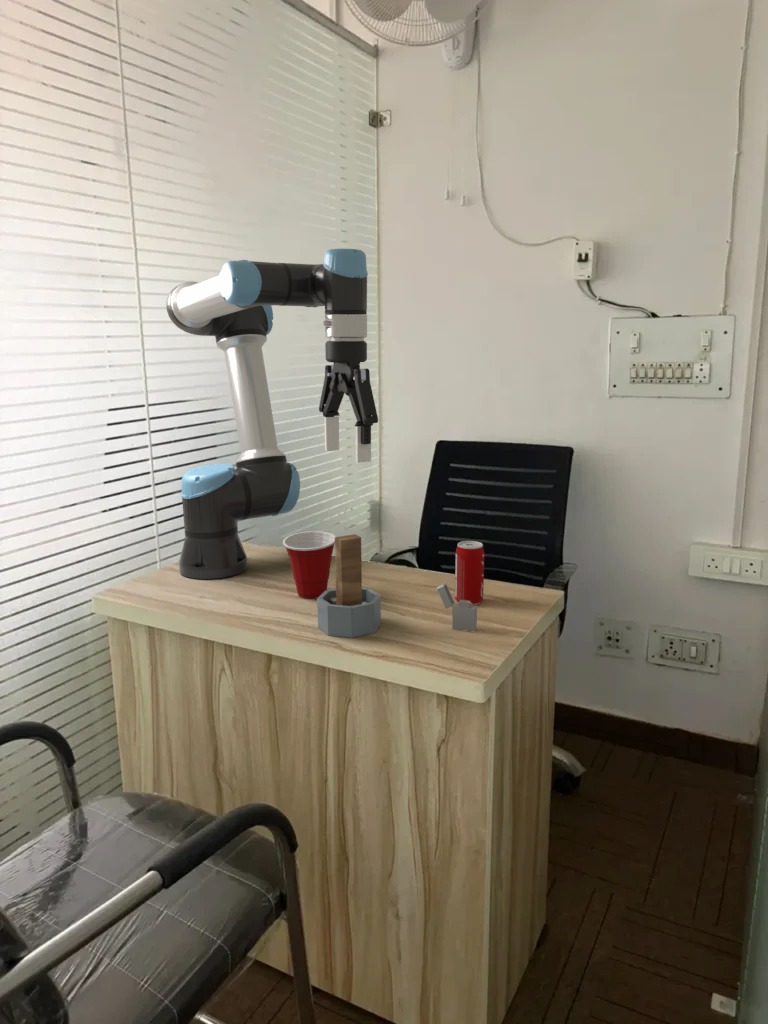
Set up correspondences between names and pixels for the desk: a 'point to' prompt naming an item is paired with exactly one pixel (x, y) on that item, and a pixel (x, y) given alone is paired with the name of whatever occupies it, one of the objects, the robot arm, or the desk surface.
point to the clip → (333, 602)
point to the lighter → (459, 610)
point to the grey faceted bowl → (349, 615)
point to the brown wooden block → (348, 570)
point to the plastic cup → (310, 561)
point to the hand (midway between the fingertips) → (347, 456)
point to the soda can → (469, 572)
